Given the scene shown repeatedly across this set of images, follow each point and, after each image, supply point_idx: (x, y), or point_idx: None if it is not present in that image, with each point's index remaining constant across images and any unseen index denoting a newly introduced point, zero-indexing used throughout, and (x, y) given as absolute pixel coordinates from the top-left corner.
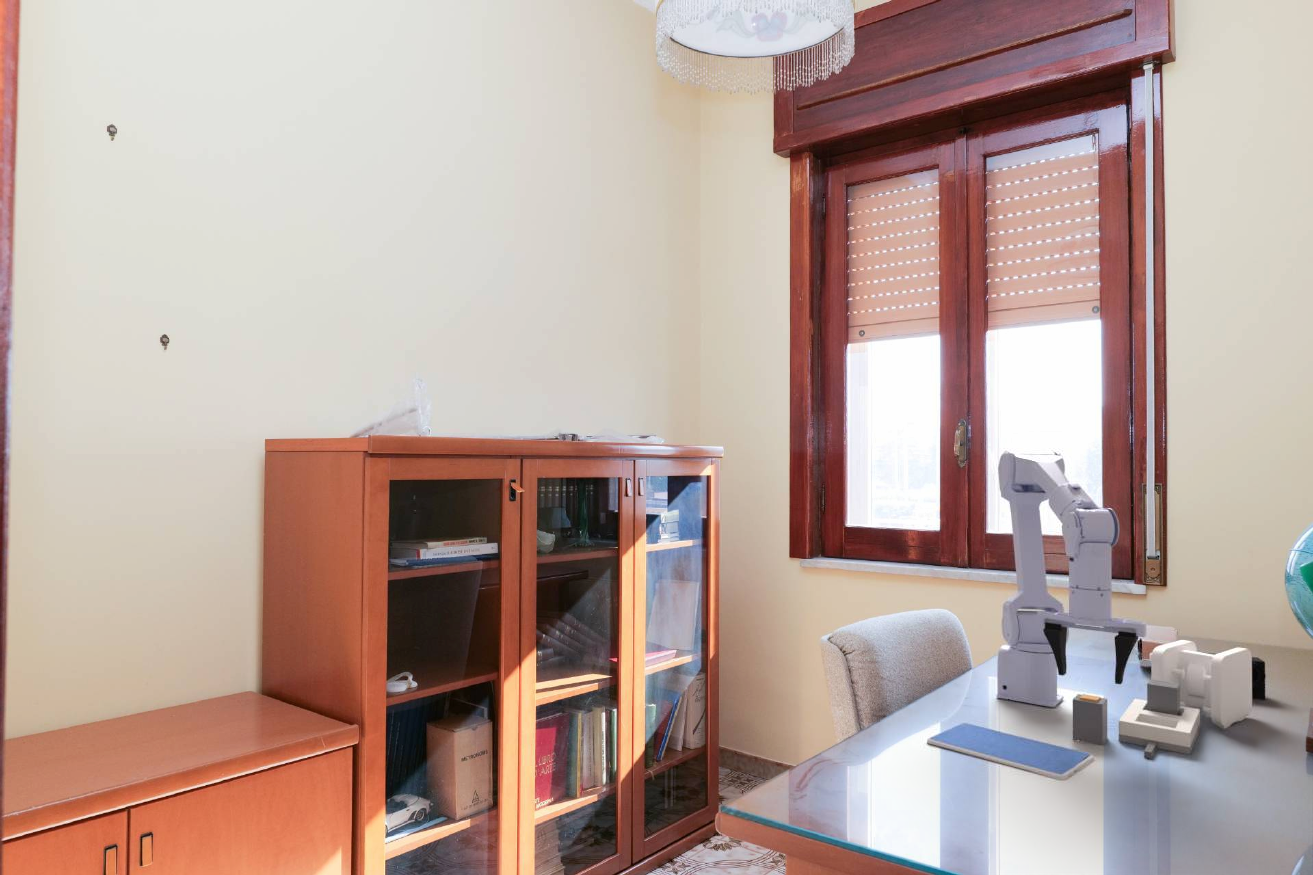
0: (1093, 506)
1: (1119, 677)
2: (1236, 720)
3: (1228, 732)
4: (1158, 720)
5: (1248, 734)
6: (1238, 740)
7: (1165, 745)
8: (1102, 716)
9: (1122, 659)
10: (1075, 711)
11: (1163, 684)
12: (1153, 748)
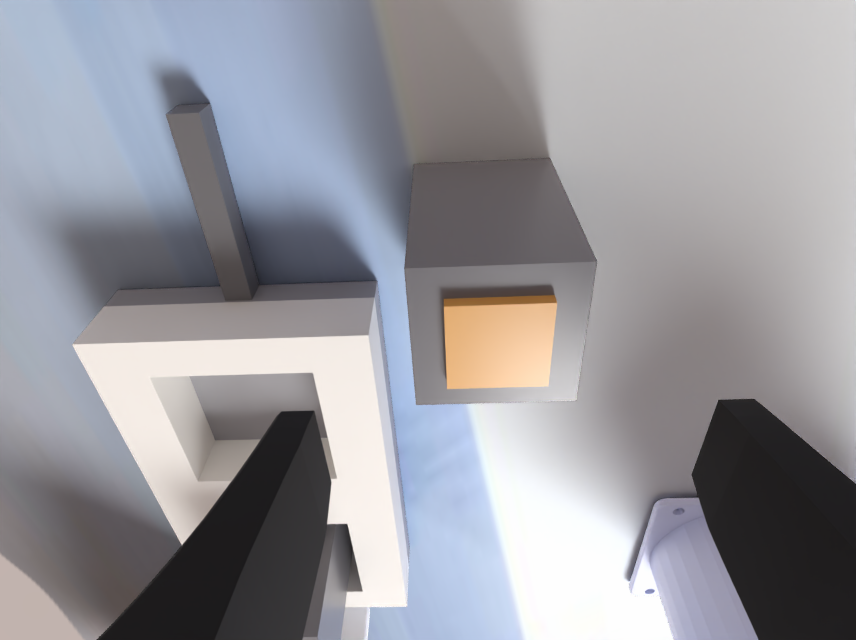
0: None
1: (263, 446)
2: None
3: (170, 557)
4: None
5: (130, 567)
6: (115, 514)
7: (197, 296)
8: (408, 230)
9: (155, 608)
10: (562, 224)
11: None
12: (190, 190)
